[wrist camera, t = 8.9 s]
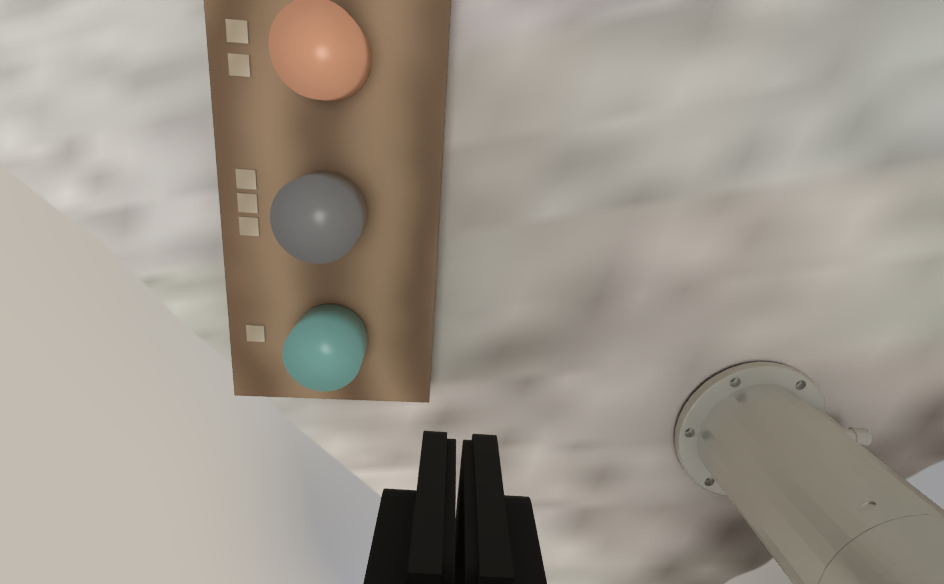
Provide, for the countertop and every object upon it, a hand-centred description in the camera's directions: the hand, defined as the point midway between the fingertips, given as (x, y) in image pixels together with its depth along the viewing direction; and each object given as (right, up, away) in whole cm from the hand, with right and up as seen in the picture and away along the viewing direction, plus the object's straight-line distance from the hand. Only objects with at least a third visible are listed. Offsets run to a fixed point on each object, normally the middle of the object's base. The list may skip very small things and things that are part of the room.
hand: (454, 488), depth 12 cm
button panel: (-9, +11, +25) cm, 28 cm away
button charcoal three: (-9, +9, +21) cm, 24 cm away
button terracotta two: (-8, +18, +19) cm, 27 cm away
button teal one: (-9, +1, +24) cm, 26 cm away
